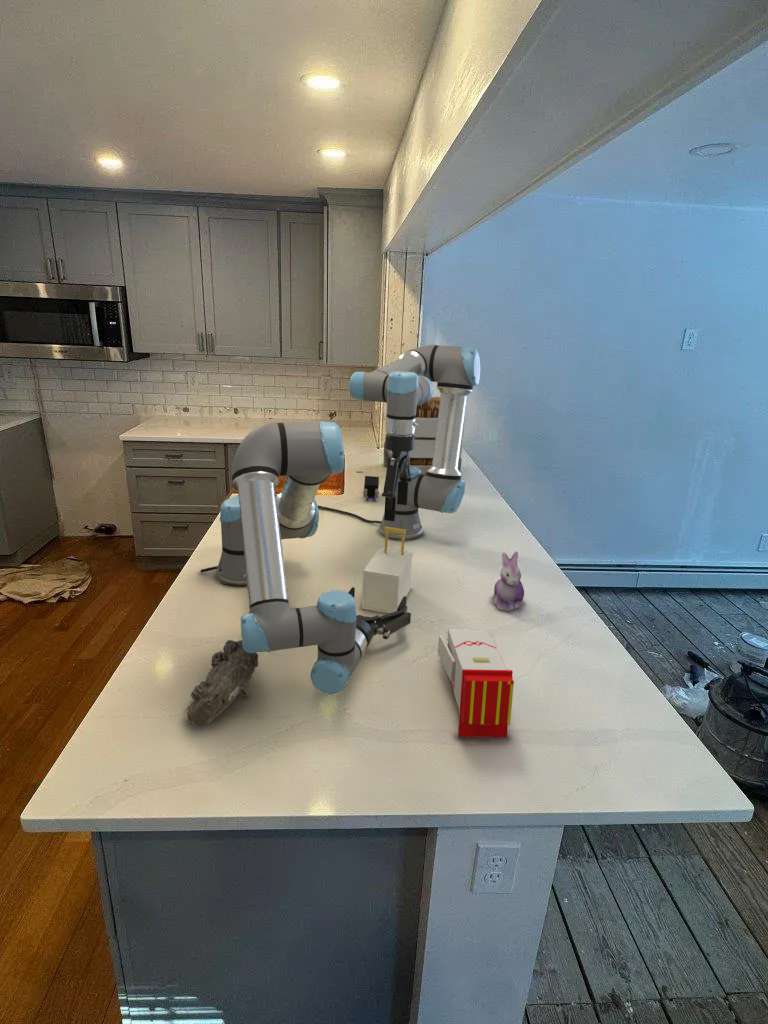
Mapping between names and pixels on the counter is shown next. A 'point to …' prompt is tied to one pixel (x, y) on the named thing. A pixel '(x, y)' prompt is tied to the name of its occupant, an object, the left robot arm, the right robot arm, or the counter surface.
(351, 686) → the counter surface
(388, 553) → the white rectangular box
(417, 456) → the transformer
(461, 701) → the toy
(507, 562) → the figurine
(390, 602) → the chest
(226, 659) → the fossil
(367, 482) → the figurine character
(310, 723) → the counter surface
